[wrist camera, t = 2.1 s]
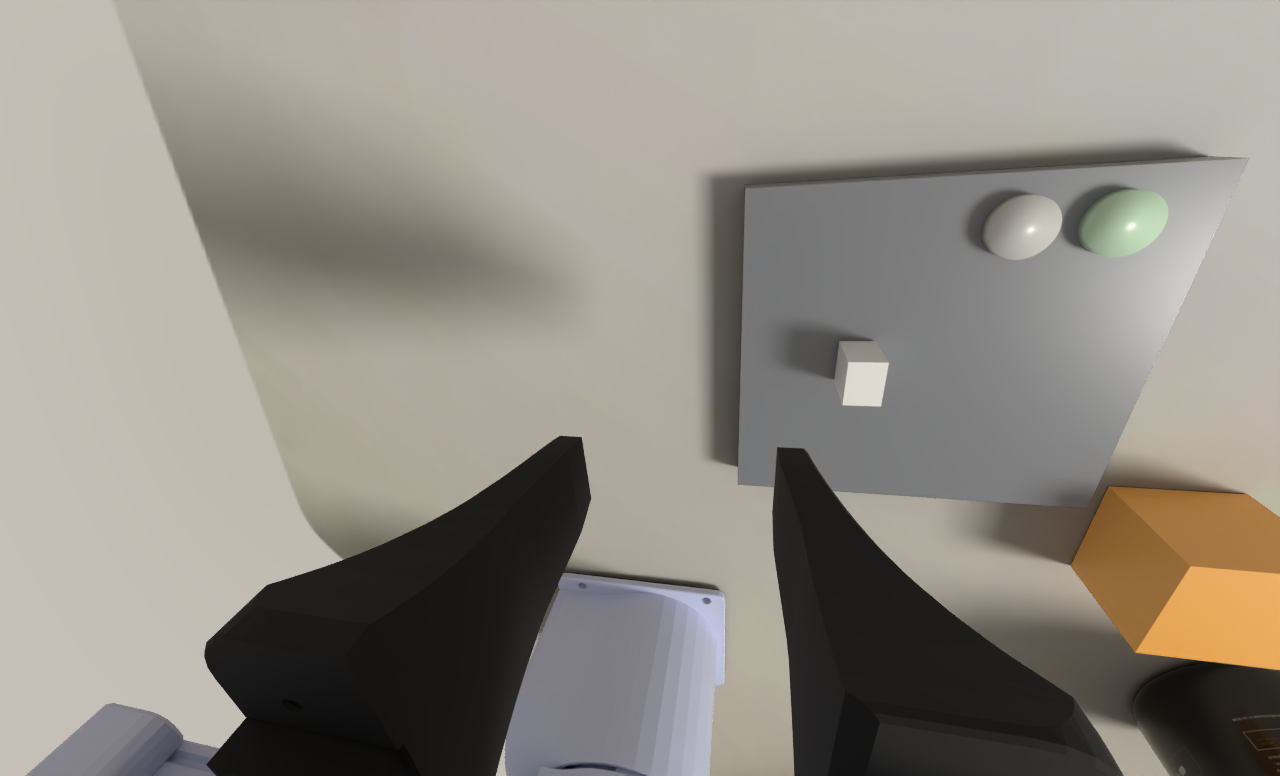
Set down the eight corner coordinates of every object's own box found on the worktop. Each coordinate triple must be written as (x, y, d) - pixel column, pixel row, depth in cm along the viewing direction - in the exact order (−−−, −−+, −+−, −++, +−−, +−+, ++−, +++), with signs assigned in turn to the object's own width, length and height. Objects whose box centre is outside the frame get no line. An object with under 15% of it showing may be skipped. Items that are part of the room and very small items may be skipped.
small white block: (834, 381, 18) (842, 405, 16) (839, 340, 17) (848, 361, 15) (869, 381, 17) (881, 406, 16) (875, 341, 17) (889, 362, 15)
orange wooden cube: (1070, 565, 21) (1134, 652, 17) (1108, 486, 19) (1190, 566, 15) (1193, 577, 20) (1288, 671, 16) (1248, 494, 18) (1369, 581, 14)
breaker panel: (738, 467, 22) (737, 492, 20) (745, 185, 16) (745, 190, 15) (1068, 487, 19) (1095, 517, 18) (1211, 156, 14) (1268, 159, 12)
